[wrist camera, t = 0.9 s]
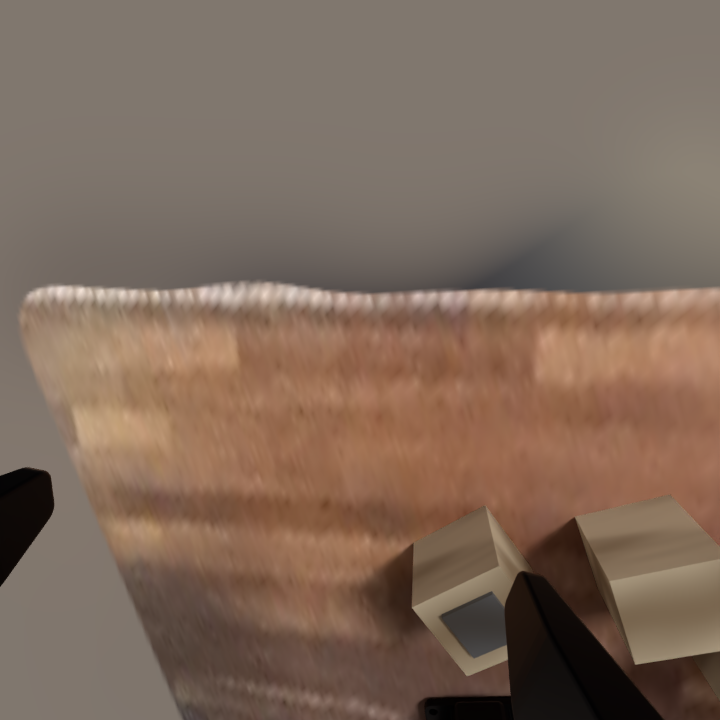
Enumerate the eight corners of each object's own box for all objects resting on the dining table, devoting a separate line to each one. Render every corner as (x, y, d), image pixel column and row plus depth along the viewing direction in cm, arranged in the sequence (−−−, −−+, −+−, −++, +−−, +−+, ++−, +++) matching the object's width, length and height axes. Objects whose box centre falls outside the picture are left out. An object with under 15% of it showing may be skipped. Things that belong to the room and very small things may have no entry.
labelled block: (531, 567, 24) (556, 644, 19) (459, 600, 25) (467, 680, 21) (484, 504, 23) (499, 569, 19) (413, 541, 24) (411, 611, 20)
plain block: (688, 568, 23) (750, 646, 18) (596, 586, 24) (635, 664, 19) (668, 493, 22) (728, 557, 18) (574, 516, 23) (609, 581, 18)
